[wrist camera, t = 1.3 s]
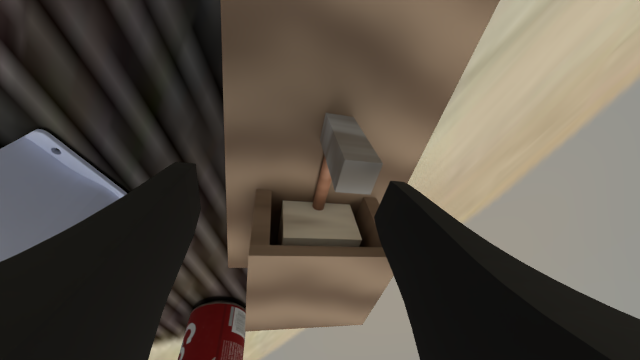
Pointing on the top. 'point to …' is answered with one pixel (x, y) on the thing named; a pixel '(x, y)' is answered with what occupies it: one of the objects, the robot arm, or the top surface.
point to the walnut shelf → (306, 126)
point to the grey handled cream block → (347, 177)
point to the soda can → (215, 332)
